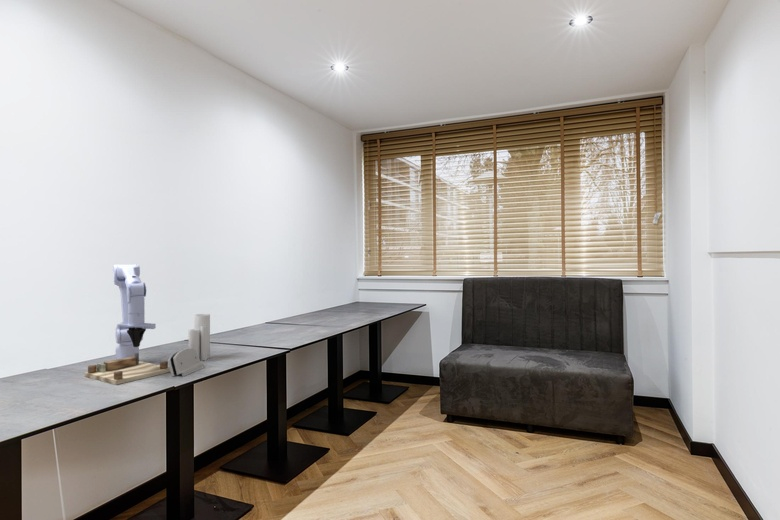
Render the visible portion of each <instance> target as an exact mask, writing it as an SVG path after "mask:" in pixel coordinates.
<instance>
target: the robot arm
mask: <svg viewBox="0 0 780 520" xmlns="http://www.w3.org/2000/svg"><path fill="white" fill-rule="evenodd" d="M112 267H113V268H112V274H113V283H114V285H116V286H117V287H118V288H119V291H120V304H121V317H122V322H120V323H118V324H116V327H115V342H116V344H117V346H116V347H115V360H116V359H117V360H118V359H123V358H128V357H134V354H135V353H139V354H140V350H139V349H140V345H141V342H142V341H143V339H144V334H145V332H146V331H147V330H154V329H156V323H148V322H145V298H146V296H147V285H146V283H145V282H142V280H141V278H140V274H141V268H140V265H139V264H138V263H137V264H117V263H116V264H114V265H113V266H112Z"/></svg>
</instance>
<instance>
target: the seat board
mask: <svg viewBox="0 0 780 520" xmlns="http://www.w3.org/2000/svg"><path fill="white" fill-rule="evenodd" d="M134 357H136V365H132V366H128V367H123V368H119V369H115V370H110V371H106V364H104V363H101V362H99V363H96V364H91V365H88V366H87V372H84V377H86V378H90V379H94V380H97V381H100V382H101V381H102V382H104V383H107V384H111V385H115V386H116V385H120V384H125V383H129V382H133V381H138V380H142V379H145V378H146V379H147V378H151V377H154V376H159V375H163V374H168V373H171V371H170V367H169V363H168V360H167V361H166V360H165V361H160V362H159V364H155V363H150V362H145V361H142V360H141V361H140V352H139V353H135V354H134ZM114 360H117V359H116V358H115V359H112V360H107V361H104V362H109V361H114Z"/></svg>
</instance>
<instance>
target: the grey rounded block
mask: <svg viewBox="0 0 780 520" xmlns="http://www.w3.org/2000/svg"><path fill="white" fill-rule="evenodd" d="M167 362H168V367H170V371H171V372H170V375H171V377H175V376H178V375H181V376H182V377H183V378H184V377H186V376H188V375H190V374H192V373H194V372H196V371H199V370H201V369H203V368H205V367H204V366H205V363H204V361H201V360H200V359H199V357H198V354H197V352H196V350H195V349H189V348H184V349H181V350H178V351H176V352H175V353H173V354H172V355H170V356H169V358H168V360H167ZM202 367H203V368H202ZM200 368H201V369H200Z"/></svg>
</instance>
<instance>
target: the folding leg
mask: <svg viewBox="0 0 780 520" xmlns="http://www.w3.org/2000/svg"><path fill="white" fill-rule="evenodd" d="M113 360H114V361H111V360H108V361H109V362H105V361H103V364H106V371H110V370H115V369H119V368H123V367H128V366H132V365H136V357H128V358H123V359H118V360H116V359H113Z"/></svg>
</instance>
